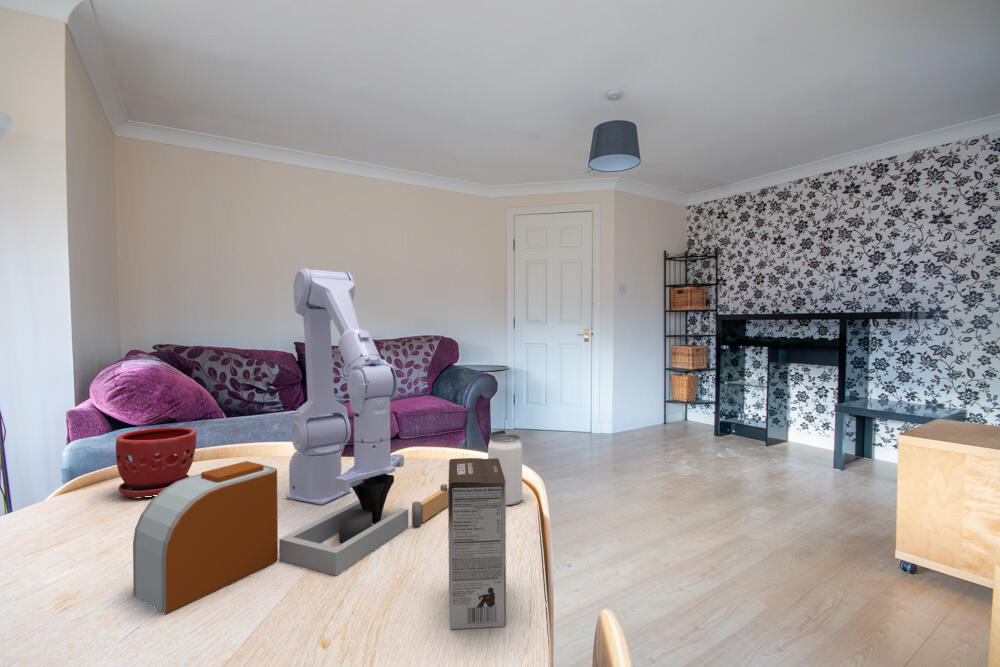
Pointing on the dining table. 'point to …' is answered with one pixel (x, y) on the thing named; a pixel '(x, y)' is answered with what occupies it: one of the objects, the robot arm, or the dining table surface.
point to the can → (508, 463)
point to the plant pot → (154, 459)
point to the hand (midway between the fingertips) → (372, 521)
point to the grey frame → (335, 560)
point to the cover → (429, 506)
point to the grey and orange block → (205, 534)
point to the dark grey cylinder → (353, 523)
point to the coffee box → (477, 543)
